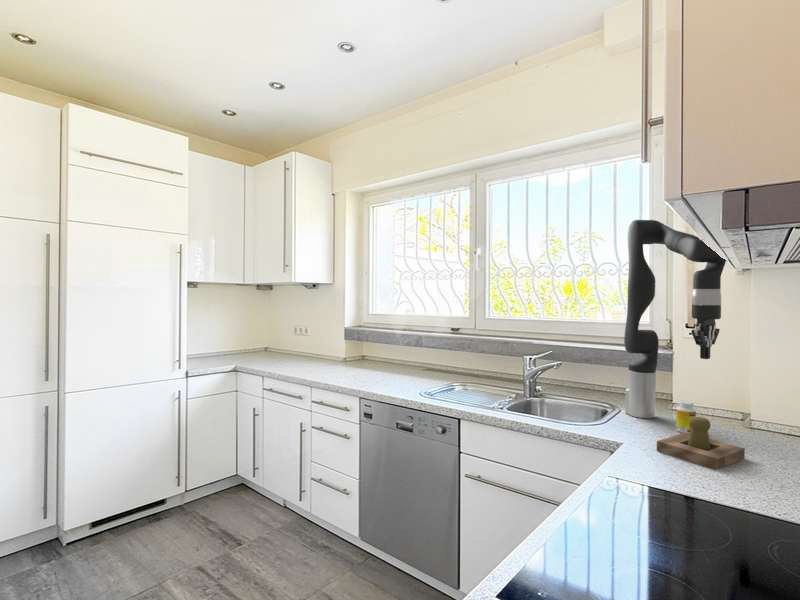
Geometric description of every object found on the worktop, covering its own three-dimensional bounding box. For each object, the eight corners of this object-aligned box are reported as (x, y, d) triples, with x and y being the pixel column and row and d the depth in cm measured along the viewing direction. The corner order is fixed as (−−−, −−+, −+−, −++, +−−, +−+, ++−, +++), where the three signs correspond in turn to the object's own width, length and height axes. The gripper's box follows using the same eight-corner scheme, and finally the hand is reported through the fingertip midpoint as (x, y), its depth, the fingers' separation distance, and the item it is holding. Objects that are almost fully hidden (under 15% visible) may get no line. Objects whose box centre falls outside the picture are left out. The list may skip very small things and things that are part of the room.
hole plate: (656, 450, 129) (656, 440, 129) (684, 441, 138) (684, 432, 138) (717, 470, 116) (717, 459, 116) (744, 458, 124) (744, 448, 124)
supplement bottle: (690, 435, 144) (691, 405, 143) (672, 430, 148) (673, 401, 148) (698, 432, 146) (699, 402, 146) (681, 428, 151) (681, 399, 151)
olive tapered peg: (687, 449, 131) (688, 413, 131) (712, 454, 127) (713, 417, 127) (685, 455, 126) (686, 417, 126) (710, 460, 122) (711, 422, 122)
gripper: (703, 303, 141) (702, 355, 142) (682, 303, 135) (681, 358, 135) (730, 303, 135) (729, 358, 135) (709, 304, 128) (708, 362, 128)
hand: (705, 358), depth 135 cm, fingers closed
